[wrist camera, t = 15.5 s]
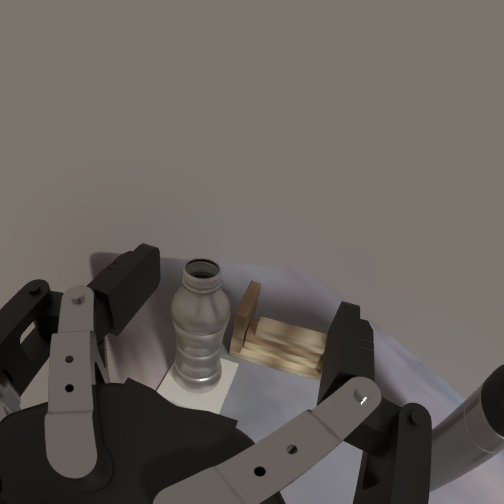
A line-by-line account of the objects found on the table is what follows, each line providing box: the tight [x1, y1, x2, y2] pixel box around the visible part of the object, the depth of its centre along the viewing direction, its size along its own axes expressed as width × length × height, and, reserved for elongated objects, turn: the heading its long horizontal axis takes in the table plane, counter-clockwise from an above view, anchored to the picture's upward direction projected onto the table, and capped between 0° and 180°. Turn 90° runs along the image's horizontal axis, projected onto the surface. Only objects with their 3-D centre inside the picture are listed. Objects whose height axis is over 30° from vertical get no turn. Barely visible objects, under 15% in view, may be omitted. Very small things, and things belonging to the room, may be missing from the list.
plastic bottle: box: [170, 258, 231, 394], centre depth 34 cm, size 6×7×20 cm
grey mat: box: [157, 358, 239, 414], centre depth 40 cm, size 9×10×1 cm
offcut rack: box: [229, 281, 328, 381], centre depth 45 cm, size 16×8×9 cm, turn 75°
